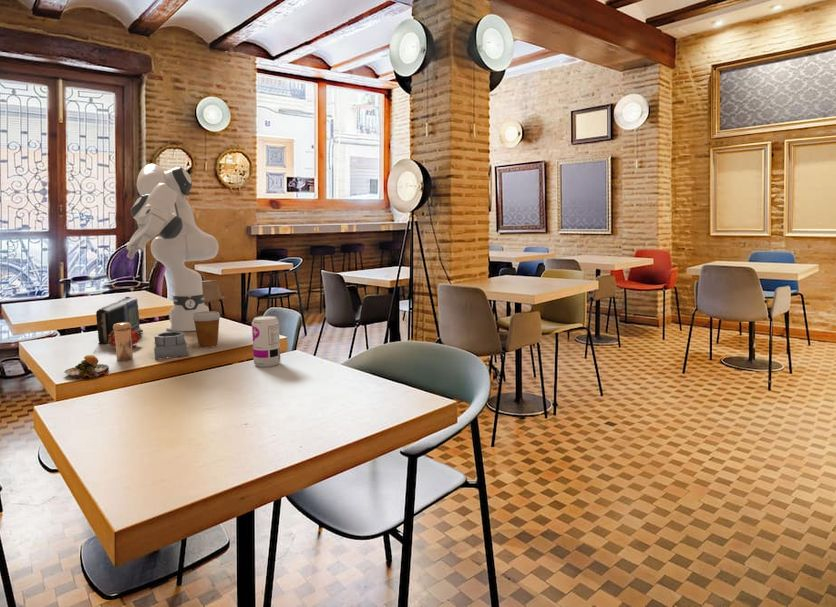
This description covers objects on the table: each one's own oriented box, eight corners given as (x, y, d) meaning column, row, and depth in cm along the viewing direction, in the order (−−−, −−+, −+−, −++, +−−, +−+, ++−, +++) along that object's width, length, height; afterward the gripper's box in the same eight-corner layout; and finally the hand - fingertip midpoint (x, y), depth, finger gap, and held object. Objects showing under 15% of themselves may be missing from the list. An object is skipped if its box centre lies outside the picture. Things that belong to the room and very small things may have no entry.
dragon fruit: (105, 355, 207) (139, 354, 216) (115, 344, 203) (149, 343, 212) (100, 334, 210) (134, 333, 219) (110, 322, 205) (144, 322, 215)
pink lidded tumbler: (116, 358, 196) (112, 323, 194) (134, 357, 198) (131, 321, 196) (115, 362, 191) (112, 326, 189) (134, 360, 193) (131, 324, 192)
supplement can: (256, 368, 183) (253, 321, 180) (252, 362, 190) (249, 316, 188) (282, 365, 186) (280, 319, 183) (277, 360, 193) (275, 314, 191)
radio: (107, 346, 215) (103, 305, 213) (86, 345, 217) (82, 305, 215) (148, 333, 238) (145, 296, 235) (129, 332, 239) (126, 295, 237)
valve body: (187, 356, 199) (186, 335, 198) (155, 359, 195) (153, 338, 194) (184, 346, 213) (182, 327, 212) (153, 349, 209) (152, 330, 208)
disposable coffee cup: (226, 343, 218) (224, 311, 216) (215, 349, 209) (213, 315, 207) (201, 342, 219) (199, 310, 217) (189, 348, 210) (187, 315, 208)
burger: (80, 369, 184) (77, 346, 183) (117, 369, 184) (115, 346, 183) (55, 380, 172) (52, 355, 171) (95, 380, 172) (93, 355, 171)
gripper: (131, 227, 214) (115, 258, 207) (153, 205, 200) (137, 237, 193) (147, 236, 217) (132, 267, 210) (171, 216, 204) (155, 247, 196)
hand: (134, 253), depth 201 cm, fingers open, 8 cm apart
